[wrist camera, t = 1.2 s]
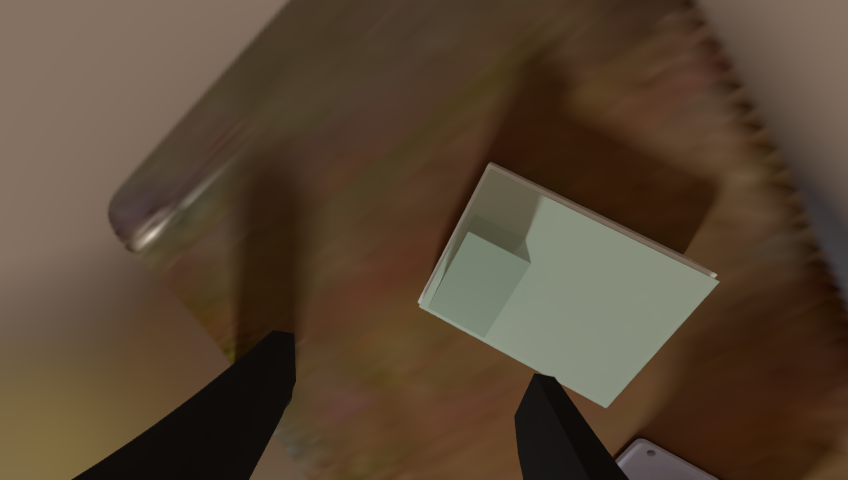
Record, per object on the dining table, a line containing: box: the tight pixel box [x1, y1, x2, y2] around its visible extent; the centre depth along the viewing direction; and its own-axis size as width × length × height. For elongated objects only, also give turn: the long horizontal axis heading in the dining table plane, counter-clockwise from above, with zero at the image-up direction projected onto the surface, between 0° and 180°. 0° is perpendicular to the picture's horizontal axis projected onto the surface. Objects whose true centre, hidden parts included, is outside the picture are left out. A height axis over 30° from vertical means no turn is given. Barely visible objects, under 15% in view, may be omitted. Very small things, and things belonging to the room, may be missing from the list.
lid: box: [419, 169, 719, 408], centre depth 15 cm, size 12×9×4 cm
